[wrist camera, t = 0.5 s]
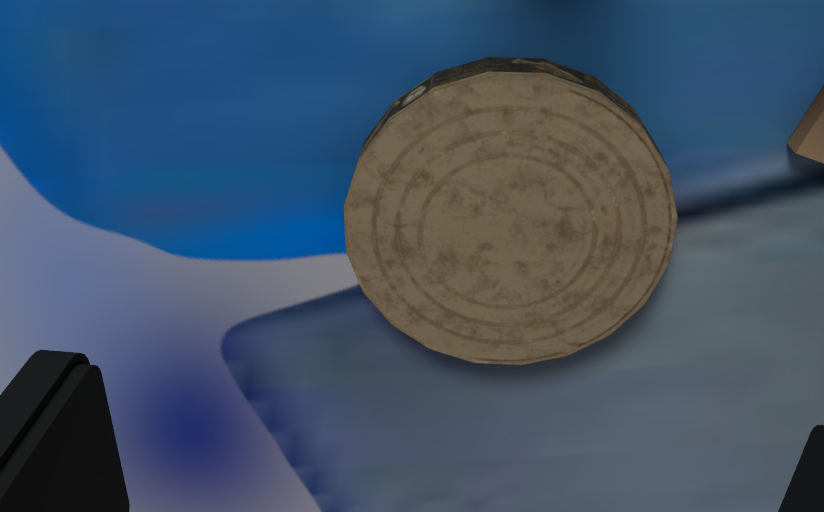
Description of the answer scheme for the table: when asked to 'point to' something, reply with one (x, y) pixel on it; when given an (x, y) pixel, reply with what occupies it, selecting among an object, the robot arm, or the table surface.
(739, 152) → the table surface
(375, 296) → the wood slice
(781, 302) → the table surface
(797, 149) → the stud board
